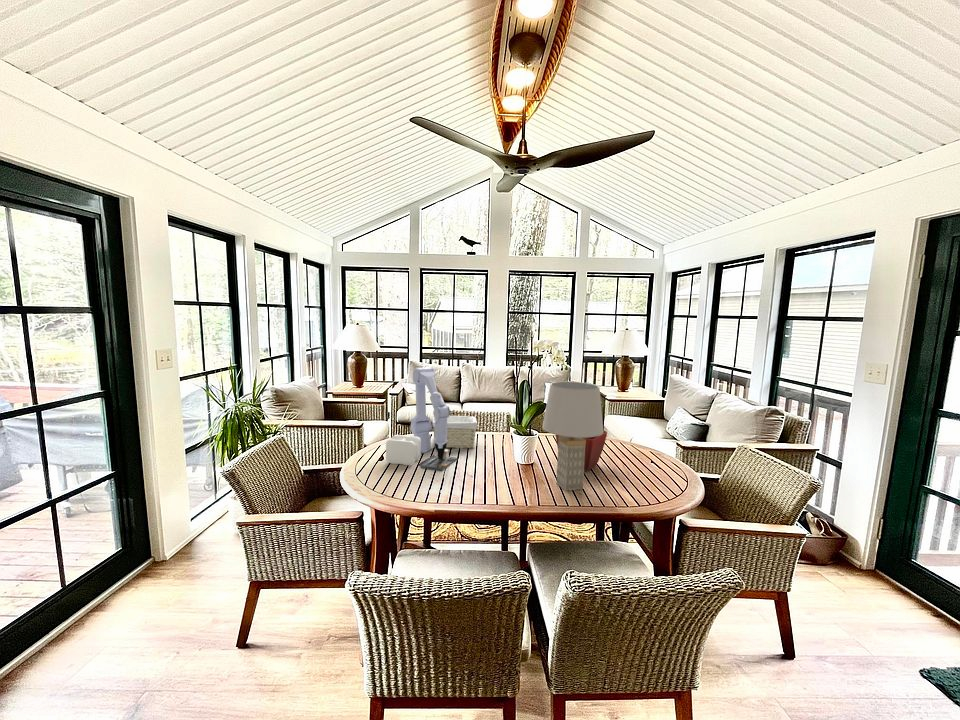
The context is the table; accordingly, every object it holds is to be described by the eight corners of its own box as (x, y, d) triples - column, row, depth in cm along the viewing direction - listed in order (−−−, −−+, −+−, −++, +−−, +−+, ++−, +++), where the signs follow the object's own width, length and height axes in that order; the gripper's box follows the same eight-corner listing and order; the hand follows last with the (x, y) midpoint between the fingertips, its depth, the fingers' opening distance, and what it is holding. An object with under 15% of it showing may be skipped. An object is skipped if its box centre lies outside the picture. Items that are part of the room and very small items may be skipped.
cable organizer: (383, 463, 206) (384, 439, 205) (392, 456, 216) (392, 433, 215) (414, 466, 203) (414, 442, 202) (421, 459, 213) (421, 436, 212)
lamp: (555, 501, 169) (560, 391, 165) (530, 477, 193) (534, 380, 189) (611, 495, 176) (618, 389, 172) (581, 473, 200) (586, 380, 196)
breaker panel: (437, 456, 218) (437, 453, 218) (457, 460, 214) (457, 456, 214) (420, 467, 202) (420, 463, 202) (441, 471, 198) (442, 467, 198)
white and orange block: (441, 456, 214) (441, 448, 213) (448, 457, 212) (448, 449, 212) (438, 458, 211) (438, 450, 211) (445, 459, 210) (446, 451, 209)
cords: (433, 456, 219) (433, 454, 218) (436, 456, 218) (436, 455, 218) (418, 465, 205) (418, 463, 205) (421, 466, 204) (421, 464, 204)
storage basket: (474, 440, 248) (475, 415, 247) (476, 449, 232) (477, 422, 231) (432, 440, 246) (432, 414, 244) (431, 449, 230) (432, 422, 228)
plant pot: (590, 475, 198) (592, 439, 197) (552, 465, 210) (554, 431, 208) (606, 464, 213) (608, 431, 212) (570, 456, 225) (571, 424, 223)
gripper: (433, 426, 214) (432, 453, 216) (431, 434, 200) (431, 463, 201) (447, 427, 215) (447, 453, 216) (447, 435, 200) (446, 463, 202)
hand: (440, 458), depth 209 cm, fingers closed
